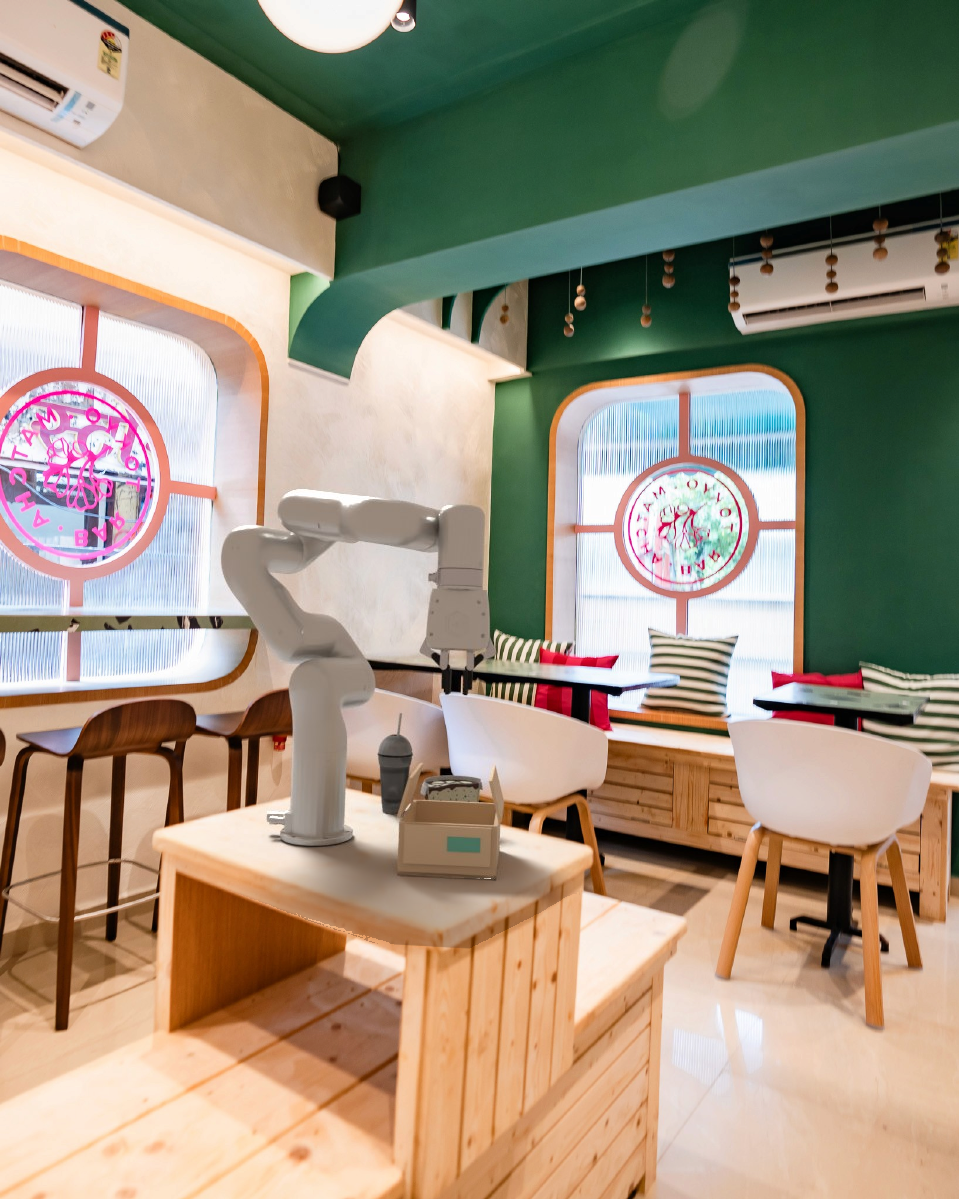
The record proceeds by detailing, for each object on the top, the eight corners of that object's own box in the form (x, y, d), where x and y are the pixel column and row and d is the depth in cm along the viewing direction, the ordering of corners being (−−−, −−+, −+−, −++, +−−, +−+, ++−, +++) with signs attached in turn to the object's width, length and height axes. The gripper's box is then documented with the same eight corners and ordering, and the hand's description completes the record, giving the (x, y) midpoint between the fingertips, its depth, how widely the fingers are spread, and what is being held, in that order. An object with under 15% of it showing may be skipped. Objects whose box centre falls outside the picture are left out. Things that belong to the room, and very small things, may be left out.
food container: (463, 825, 153) (465, 772, 153) (481, 833, 148) (483, 778, 148) (406, 833, 146) (408, 777, 147) (423, 841, 141) (425, 784, 141)
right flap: (488, 781, 122) (492, 780, 122) (492, 766, 136) (495, 765, 136) (498, 822, 122) (501, 821, 122) (501, 803, 136) (504, 802, 136)
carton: (396, 876, 121) (398, 823, 121) (412, 845, 138) (414, 798, 138) (495, 881, 120) (497, 827, 120) (499, 849, 137) (501, 802, 137)
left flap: (399, 818, 123) (396, 817, 123) (412, 799, 136) (409, 798, 136) (411, 778, 123) (408, 777, 123) (423, 763, 137) (420, 762, 137)
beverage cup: (393, 805, 168) (396, 710, 169) (418, 811, 163) (421, 713, 164) (367, 811, 162) (371, 712, 163) (393, 817, 158) (396, 715, 158)
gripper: (408, 578, 127) (404, 694, 127) (508, 581, 126) (505, 698, 126) (414, 581, 135) (411, 690, 134) (509, 583, 134) (506, 694, 133)
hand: (456, 693), depth 130 cm, fingers closed
